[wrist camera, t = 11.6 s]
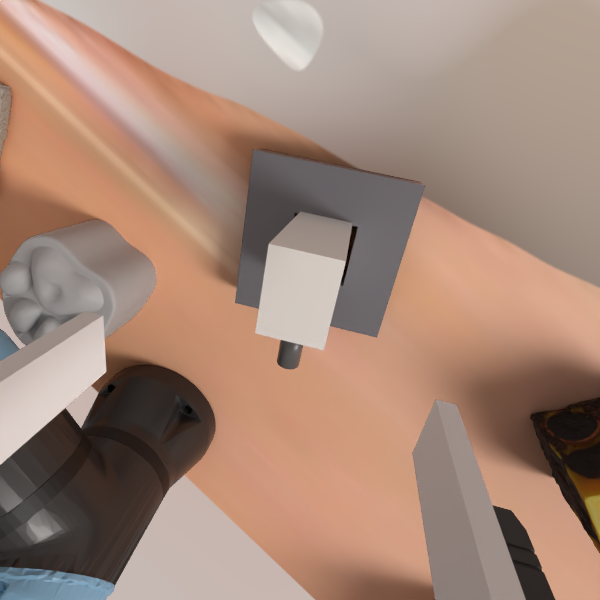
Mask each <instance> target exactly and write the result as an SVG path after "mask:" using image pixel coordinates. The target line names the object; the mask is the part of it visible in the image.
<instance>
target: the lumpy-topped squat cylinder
mask: <svg viewBox="0 0 600 600" xmlns="http://www.w3.org/2000/svg"><path fill="white" fill-rule="evenodd" d="M155 285H156V271H155V267H154V265H153V263H152V262H151V260H150V259H149V258H148V257H147V256H146V255H145V254H143V253H142V252H140V251H139V250H137V249H136V248H134V247H133V246H132V245H130V244H129V243H128V242H127V241H126V240H125V239H124V238H123V237H122V236H121V235H120V234H119V232H118V231H117V230H116V229H115V228H114V227H113V226H111V225H110V224H109V223H107V222H105V221H102V220H90V221H86V222H82V223H79V224H75V225H71V226H68V227H64V228H60V229H57V230H53V231H49V232H46V233H42V234H38V235H35V236H32V237H30V238H28V239H27V240H25V241H24V242H23V243H22V244H21V246H20V247H19V248H18V250H17V251H16V253H15V254H14V255H13V257H12V259H11V260H10V262H9V264H8V266H7V267H6V268H5V269H4V270H3V271H2V272H1V274H0V288H1V289H2V299H3V305H4V310H5V314H6V317H7V319H8V321H9V323H10V325H11V327H12V329H13V331H14V333H15V334H16V335H17V337H18V338H19V339H20V340H21V342H22V343H24V344H25V345H26V346H27V345H28V344H30V343H32V342H34V341H35V340H37V339H39V338H40V337H42V336H44V335H45V334H47V333H49V332H50V331H52V330H54V329H56V328H57V327H59V326H61V325H62V324H64V323H66V322H67V321H69V320H71V319H72V318H74V317H76V316H78V315H79V314H81V313H83V312H84V311H88V312H92V313H96V314H100V315H103V319H104V337H105V338H107V337H108V336H109V335H111V334H112V333H113V332H115V331H116V330H117V329H119V328H120V327H122V326H123V325H124V324H126V323H127V322H128V321H130V320H131V319H132V318H133V317H134V316H135V315H136V314H137V313H138V312H139V311H140V310H141V309H142V307H143V306H144V305H145V303H146V302H147V300H148V299H149V297H150V295H151V294H152V292H153V290H154V288H155Z"/></svg>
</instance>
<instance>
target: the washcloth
mask: <svg viewBox="0 0 600 600" xmlns="http://www.w3.org/2000/svg"><path fill="white" fill-rule="evenodd" d="M11 94H12V92H11V91H10V87H8V86H5V85H3V84H2V83H1V82H0V160H1V155H2V149H3V142H4V140H5V139H6V138H7V132H8V129H7V127H8V125H9V123H8V121H9V116H10V112H11V111H10V108H11V101H12V95H11ZM0 172H1V164H0Z"/></svg>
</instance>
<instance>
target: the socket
mask: <svg viewBox="0 0 600 600" xmlns="http://www.w3.org/2000/svg"><path fill="white" fill-rule="evenodd" d="M424 188H425V185H424V184H422V183H421V182H418V181H413V180H408V179H403V178H399V177H394V176H389V175H384V174H379V173H375V172H370V171H365V170H360V169H355V168H351V167H346V166H341V165H336V164H331V163H327V162H322V161H317V160H312V159H307V158H303V157H298V156H293V155H288V154H283V153H278V152H274V151H269V150H264V149H257V150H253V155H252V164H251V172H250V181H249V189H248V198H247V206H246V215H245V223H244V232H243V240H242V249H241V257H240V266H239V274H238V283H237V291H236V300H235V303H238V304H242V305H246V306H250V307H255V308H259V305H260V298H261V292H262V285H263V278H264V272H265V265H266V258H267V252H268V245H269V243H270V242H271V241H272V240H273V239H274V238H275V237H276V236H277V235H278V234H279V233H280V232H281V231H282V230H283V229H284V228H285V227H286V226H287V225H288V224H289V223H290V222H291V221H292V220H293V219H294V218H295V217H296V216H297V215H298V214H299V213H300V212H305V213H310V214H314V215H319V216H324V217H328V218H333V219H337V220H342V221H346V222H351V223H353V224H352V226H357V229H356V233H355V237H354V241H353V245H352V249H351V253H350V257H349V261H348V265H347V269H346V273H345V275H342V279H341V283H340V287H339V291H338V295H337V299H336V303H335V307H334V311H333V315H332V319H331V323H330V326H332V327H336V328H341V329H345V330H349V331H353V332H357V333H361V334H365V335H369V336H373V337H377V335H378V332H379V329H380V326H381V323H382V320H383V316H384V313H385V310H386V307H387V304H388V301H389V298H390V294H391V291H392V288H393V285H394V282H395V279H396V276H397V272H398V269H399V266H400V263H401V260H402V257H403V254H404V250H405V247H406V244H407V241H408V238H409V235H410V232H411V228H412V225H413V222H414V219H415V216H416V213H417V210H418V206H419V203H420V200H421V197H422V194H423V190H424Z"/></svg>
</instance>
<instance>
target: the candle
mask: <svg viewBox="0 0 600 600" xmlns="http://www.w3.org/2000/svg"><path fill="white" fill-rule="evenodd" d="M530 419H532V421H533V423H534V428H535V430H536V435H537V437H538V439H539V441H540V445H541V447H542V450H543V451H544V455H545V456H546V459H547V460H548V462H549V464H550V466H551V468H552V471H553V472H552V476H553V477H554V478H555V481H556V483H557V484H558V485H559V487H560V490H561V492H562V495H563V497H564V498H565V500H566V501H567V503H568V504H569V505H570V507H571V509H572V510H573V512H574V513H575V514H576V516H577V517H578V519H579V520H580V522H581V523H582V526H583V528H584V529H585V531H586V532H587V533H588V535H589V536H590V538H591V539H592V541H593V543H594V545H595V547H596V548H597V550H598V551H599V553H600V398H598V399H594V400H590V401H585V402H580V403H578V404H575V405H570V406H569V407H567V408H566V409H564V410H557V411H550V412H542V413H536V414H533V415H531V417H530Z"/></svg>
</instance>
